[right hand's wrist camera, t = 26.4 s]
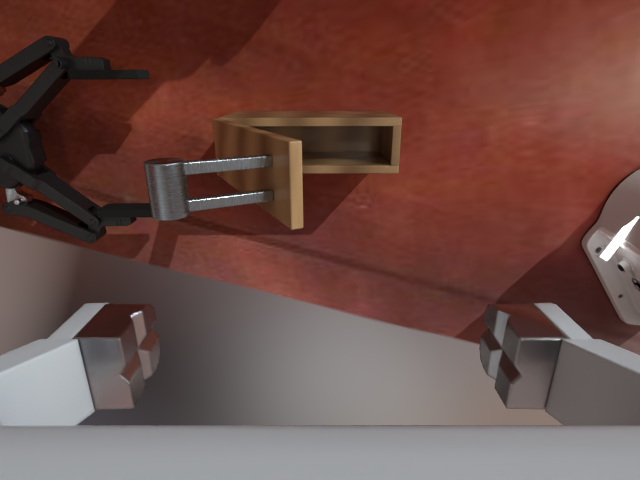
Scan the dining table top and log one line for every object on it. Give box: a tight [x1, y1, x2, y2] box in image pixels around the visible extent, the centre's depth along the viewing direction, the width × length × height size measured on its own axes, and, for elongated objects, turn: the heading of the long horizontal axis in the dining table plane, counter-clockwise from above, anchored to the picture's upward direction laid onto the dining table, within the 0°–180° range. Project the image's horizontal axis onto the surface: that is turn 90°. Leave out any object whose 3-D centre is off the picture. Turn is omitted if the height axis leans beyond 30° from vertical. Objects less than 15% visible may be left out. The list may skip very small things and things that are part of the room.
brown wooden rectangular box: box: [220, 111, 402, 174], centre depth 44 cm, size 17×5×10 cm, turn 90°
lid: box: [144, 118, 303, 230], centre depth 30 cm, size 18×5×8 cm
